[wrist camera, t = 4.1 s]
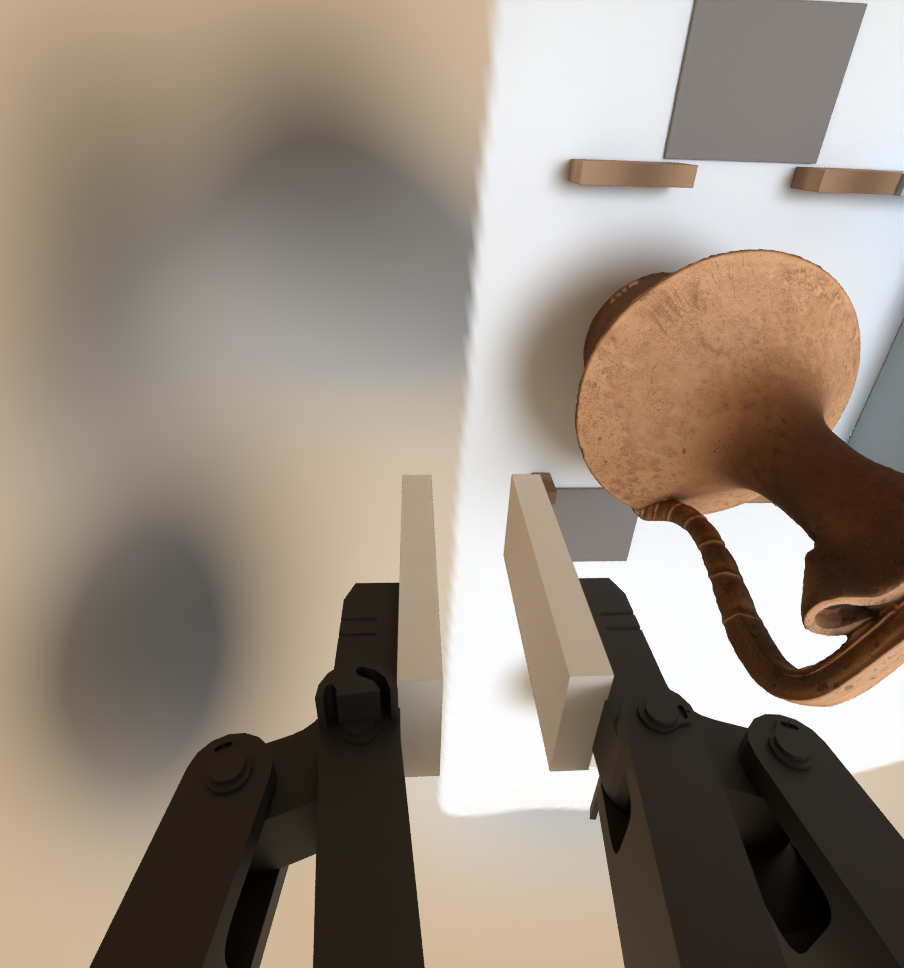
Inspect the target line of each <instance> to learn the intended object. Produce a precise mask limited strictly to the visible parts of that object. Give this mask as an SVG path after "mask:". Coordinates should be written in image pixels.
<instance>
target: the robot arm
mask: <svg viewBox="0 0 904 968" xmlns="http://www.w3.org/2000/svg"><path fill="white" fill-rule="evenodd" d="M434 532H435V531H434V515H433V496H432V479H431V475H402V508H401V544H400V582H399V583H356V584H355V585H354V586H353V588H352V589H351V591H350V592H349V594H348V595H347V596H346V598H345V599H344V603H343V610H342V617H341V624H340V631H339V638H338V645H337V652H336V659H335V666H334V670H332V671H331V672H329V673H328V674H327V675H326V676H325V678H324V679H323V680H322V681H321V683H320V684H319V685H318V689H317V693H316V696H315V702H316V708H317V716H318V719H317V720H316V721H315V722H314V723H312V724H311V725H309V726H308V727H307V728H305V729H304V730H302V731H299V732H297V733H295V734H293V735H290V736H287V737H285V738H281V739H279V740H275V741H272V742H269V743H265V742H264V741H262V740H261V739H260V738H259V737H257V736H253V735H250V734H246V733H240V734H228V735H226V736H224V737H221V738H219V739H216V740H214V741H212V742H211V743H209V744H208V745H207V746H206V747H204V748H203V749H202V750H201V751H199V752H198V753H197V755H196V756H195V757H194V759H193V760H192V761H191V763H190V764H189V766H188V767H187V769H186V771H185V773H184V775H183V777H182V780H181V782H180V784H179V785H178V787H177V790H176V792H175V794H174V796H173V798H172V800H171V802H170V804H169V806H168V808H167V810H166V812H165V814H164V816H163V818H162V820H161V822H160V824H159V827H158V829H157V831H156V832H155V835H154V837H153V839H152V841H151V843H150V845H149V847H148V849H147V851H146V853H145V855H144V857H143V859H142V861H141V863H140V865H139V867H138V869H137V871H136V873H135V875H134V877H133V880H132V882H131V884H130V886H129V888H128V890H127V892H126V894H125V896H124V898H123V900H122V902H121V904H120V906H119V909H118V910H117V912H116V914H115V916H114V918H113V920H112V922H111V924H110V927H109V929H108V931H107V933H106V935H105V937H104V939H103V941H102V943H101V945H100V947H99V949H98V951H97V953H96V955H95V957H94V959H93V962H92V963H91V965H90V968H259V967H260V964H261V960H262V957H263V953H264V949H265V946H266V942H267V939H268V935H269V932H270V929H271V925H272V921H273V918H274V915H275V911H276V907H277V904H278V901H279V897H280V894H281V890H282V887H283V883H284V880H285V876H286V872H287V869H288V865H290V864H292V863H295V862H297V861H300V860H302V859H304V858H307V857H309V856H312V855H314V854H316V880H315V883H316V884H315V917H314V954H313V968H425V967H424V958H423V948H422V938H421V929H420V919H419V910H418V900H417V890H416V881H415V873H414V862H413V853H412V843H411V833H410V823H409V814H408V805H407V795H406V785H405V777H417V776H439V775H440V748H441V720H442V692H443V672H442V655H441V638H440V620H439V603H438V585H437V566H436V549H435V533H434ZM504 560H505V564H506V569H507V574H508V578H509V583H510V588H511V592H512V597H513V602H514V606H515V611H516V616H517V620H518V625H519V630H520V634H521V639H522V644H523V648H524V653H525V658H526V662H527V667H528V672H529V676H530V681H531V686H532V690H533V695H534V700H535V704H536V709H537V714H538V718H539V723H540V728H541V732H542V737H543V742H544V746H545V751H546V756H547V760H548V765H549V770H550V771H573V770H589V766H590V762H591V759H592V755H594V758H595V761H596V765H597V768H598V772H599V775H600V776H599V779H598V783H597V786H596V789H595V793H594V796H593V800H592V803H591V807H590V819H594V820H595V819H596V817H597V814H598V810H599V815H600V821H601V827H602V833H603V840H604V845H605V851H606V857H607V864H608V870H609V875H610V881H611V887H612V894H613V899H614V906H615V912H616V918H617V924H618V930H619V936H620V941H621V948H622V953H623V960H624V966H625V968H904V839H903V838H902V837H901V835H900V834H899V833H898V832H897V830H896V829H895V828H894V827H893V825H892V824H891V823H890V822H889V821H888V819H887V818H886V817H885V816H884V814H883V813H882V812H881V811H880V809H879V808H878V807H877V806H876V804H875V803H874V802H873V801H872V800H871V798H870V797H869V796H868V795H867V793H866V792H865V791H864V790H863V788H862V787H861V786H860V785H859V784H858V782H857V781H856V780H855V779H854V777H853V776H852V775H851V774H850V772H849V771H848V770H847V769H846V768H845V766H844V765H843V764H842V763H841V761H840V760H839V759H838V758H837V756H836V755H835V754H834V753H833V752H832V750H831V749H830V748H829V747H828V745H827V744H826V743H825V742H824V741H823V740H822V739H821V738H820V737H819V736H818V735H817V734H816V733H815V732H814V731H813V730H812V729H810V728H808V727H807V726H805V725H803V724H802V723H800V722H799V721H797V720H795V719H792V718H788V717H785V716H782V715H775V714H765V715H762V716H760V717H757V718H755V719H754V720H753V721H752V723H751V724H750V726H749V728H745V727H741V726H737V725H733V724H729V723H725V722H721V721H717V720H713V719H710V718H708V717H705V716H702V715H700V714H698V713H696V712H694V711H693V709H692V707H691V705H690V704H689V703H688V702H686V701H685V700H684V699H683V698H682V697H681V696H680V695H679V694H677V693H675V692H673V691H671V690H670V689H669V688H668V686H667V684H666V683H665V680H664V678H663V676H662V674H661V672H660V669H659V667H658V665H657V663H656V661H655V658H654V656H653V654H652V652H651V650H650V647H649V645H648V643H647V641H646V639H645V636H644V634H643V632H642V630H640V626H639V623H638V621H637V619H636V617H635V615H633V610H632V608H631V606H630V604H629V601H628V599H627V597H626V595H625V593H624V592H623V591H622V590H621V589H620V588H619V587H618V586H617V585H616V584H615V583H614V582H612V581H611V580H610V579H609V578H578V576H577V573H576V571H575V568H574V565H573V563H572V560H571V557H570V554H569V552H568V549H567V546H566V544H565V541H564V538H563V535H562V533H561V530H560V527H559V525H558V522H557V519H556V516H555V514H554V511H553V508H552V506H551V503H550V500H549V497H548V495H547V492H546V489H545V487H544V484H543V481H542V478H541V476H540V474H531V475H512V478H511V487H510V497H509V507H508V517H507V526H506V536H505V546H504Z"/></svg>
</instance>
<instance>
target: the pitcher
mask: <svg viewBox="0 0 904 968" xmlns="http://www.w3.org/2000/svg"><path fill="white" fill-rule="evenodd" d="M859 363H860V331H859V325H858V320H857V316H856V312H855V310H854V307H853V305H852V303H851V301H850V299H849V297H848V296H847V293H846V292H845V291H844V289H843V288H842V287H841V285H840V284H839V283H838V282H837V281H836V280H835V278H833V277H832V276H831V275H830V274H829V273H828V272H826V271H824V270H823V269H822V268H821V267H820V266H818V265H816V264H814V263H812V262H810V261H808V260H805V259H803V258H802V257H800V256H796V255H792V254H788V253H784V252H779V251H774V250H763V249H758V250H740V251H734V252H733V251H730V252H728V253H721V254H717V255H711V256H709V257H708V258H703V259H701V260H700V261H698V262H695V263H692V264H689V265H688V266H686V267H683V268H682V269H680V270H678V271H676V272H674V273H665V272H662V273H656V274H651V275H648V276H646V277H642V278H640V279H638V280H636V281H633V282H631V283H629V284H628V285H626V286H625V287H623V288H622V289H620V290H619V291H618V292H617V293H615V294H614V295H613V296H612V297H611V298H610V299H609V300H608V301H607V302H606V303H605V304H604V305H603V306H602V308H601V309H600V310H599V311H598V313H597V314H596V316H595V317H594V319H593V321H592V323H591V325H590V328H589V331H588V334H587V337H586V341H585V346H584V367H585V369H584V373H583V375H582V378H581V380H580V384H579V389H578V395H577V400H578V402H577V404H576V410H575V411H576V412H575V427H576V434H577V439H578V444H579V447H580V449H581V452H582V455H583V459H584V461H585V463H586V465H587V466H588V468H589V470H590V472H591V473H592V475H593V476H594V477H595V479H596V480H597V481H598V483H599V484H600V485H601V486H602V487H603V488H604V489H605V490H606V491H607V492H608V493H609V494H611V495H612V496H613V497H614V498H616V499H618V500H619V501H621V502H622V503H624V504H626V505H628V506H630V507H631V508H632V510H633V511H634V513H635V514H636V515H637V516H639V517H640V518H641V519H643V520H645V521H669V522H673V523H675V524H678V525H679V526H681V527H682V528H683V529H685V530H687V531H688V533H689V534H690V535H691V537H692V539H693V540H694V541H695V543H696V545H697V547H698V549H699V550H700V551H701V554H702V559H703V561H704V565H705V566H706V569H707V571H708V577H709V578H710V580H711V582H712V586H713V592H714V595H715V597H716V602H717V604H718V607H719V610H720V612H721V615H722V623H723V625H724V626H725V629H726V633H727V636H728V639H729V641H730V643H731V644H732V646H733V648H734V651H735V652H736V654H737V656H738V658H739V659H740V661H741V662H742V663H743V665H744V667H745V668H746V670H747V671H748V673H749V674H750V676H751V677H752V678H753V679H754V680H755V682H756V683H757V684H759V685H760V686H761V687H762V688H764V689H765V690H766V691H767V692H768V693H770V694H772V695H773V696H775V697H778V698H781V699H784V700H786V701H789V702H792V703H796V704H800V705H806V706H820V707H827V706H834V705H837V704H840V703H843V702H845V701H848V700H850V699H852V698H855V697H856V696H858V695H860V694H862V693H864V692H865V691H867V690H869V689H870V688H872V687H873V686H875V685H876V684H878V683H879V682H880V681H881V680H883V679H884V678H885V677H887V676H888V675H889V674H890V673H892V672H893V671H894V670H896V669H897V668H898V667H899V666H901V665H902V664H903V663H904V473H902V472H898V471H896V470H894V469H892V468H890V467H886V466H884V465H882V464H879V463H876V462H874V461H873V460H870V459H869V458H867V457H865V456H864V455H862V454H860V453H858V452H857V451H855V450H854V449H853V448H852V447H850V446H849V445H848V444H846V443H845V442H844V441H843V440H841V439H840V438H839V437H838V436H837V435H835V434H834V433H833V432H832V430H833V428H834V427H835V425H836V424H837V422H838V421H839V419H840V417H841V415H842V413H843V411H844V409H845V407H846V405H847V403H848V401H849V399H850V396H851V393H852V391H853V388H854V385H855V381H856V378H857V373H858V368H859ZM760 495H762V496H764V497H765V498H767V499H768V500H770V501H771V502H772V503H773V504H775V505H777V506H778V507H779V508H780V509H782V510H783V511H784V512H785V513H786V514H787V515H788V516H789V517H790V518H792V519H793V520H794V521H795V522H796V523H797V524H798V525H800V526H801V527H802V528H803V529H804V531H805V532H806V533H807V534H808V536H809V537H810V538H811V539H812V540H813V541H814V542H815V543H814V549H812V550H811V551H809V552H808V553H807V554H806V556H805V570H804V579H803V593H802V601H801V616H802V622H803V625H804V627H805V629H808V630H810V631H811V632H814V633H817V634H822V635H827V636H838V635H846V636H847V641H846V642H845V643H844V644H842V645H841V647H840V649H838V650H836V651H835V652H834V653H833V654H831V655H830V656H828V657H827V658H826V659H824V660H822V661H819V662H818V663H817V664H815V665H811V666H807V667H804V668H801V669H797V668H795V667H794V666H793V665H791V664H790V663H789V662H788V661H787V660H785V658H784V657H783V656H782V654H781V652H780V651H779V650H778V648H777V646H776V645H775V643H774V642H773V640H772V639H771V637H770V635H769V633H768V631H767V629H766V628H765V626H764V624H763V622H762V620H761V619H760V617H759V616H758V614H757V612H756V609H755V606H754V603H753V600H752V598H751V596H750V594H749V591H748V589H747V588H746V586H745V584H744V582H743V578H742V576H741V574H740V573H739V570H738V566H737V564H736V562H735V560H734V558H733V557H732V555H731V554H730V552H729V551H728V549H727V548H726V547H725V543H724V541H723V540H722V539H721V537H720V535H719V533H718V531H717V530H716V529H715V528H714V526H713V525H712V524H711V523H710V522H708V521H707V518H706V517H705V516H703V515H704V514H710V513H714V512H718V511H722V510H725V509H729V508H733V507H735V506H738V505H741V504H743V503H745V502H748V501H750V500H752V499H754V498H756V497H758V496H760Z"/></svg>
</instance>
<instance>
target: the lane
mask: <svg viewBox="0 0 904 968" xmlns="http://www.w3.org/2000/svg"><path fill="white" fill-rule="evenodd" d="M697 168H698V165H691V164H684V163H672V162H644V161H615V160H587V159H571V164H570V172H569V181H572V182H575V183H578V184H585V185H616V186H647V187H678V188H693V185H694V181H695V176H696V172H697ZM902 174H903V173H902V172H891V171H881V170H870V169H843V168H814V167H797V169H796V173H795V176H794V179H793V182H792V186H791V188H797V189H803V190H809V191H815V192H834V193H865V194H895V192H896V189H897V187H898V184H899V182H900V179H901V177H902ZM532 474H540V476H541V478H542V481H543V484H544V487H545V489H546V492H547V495H548V497H549V500H550V503H551V504H555V502H556V496H557V490H556V488H555V485H554V483H553V480H552V478H551V475H550V473H532ZM745 503H772V502H771V501H770V500H768V499H767V498H765V497H764V496H762V495H760V496H758V497H756V498H754V499H752V500H750V501H748V502H745Z"/></svg>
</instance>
